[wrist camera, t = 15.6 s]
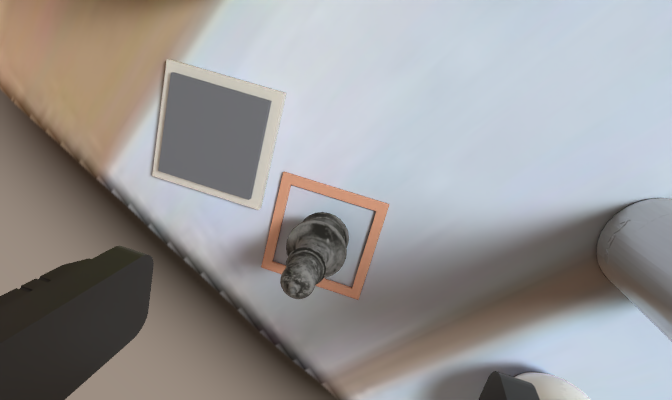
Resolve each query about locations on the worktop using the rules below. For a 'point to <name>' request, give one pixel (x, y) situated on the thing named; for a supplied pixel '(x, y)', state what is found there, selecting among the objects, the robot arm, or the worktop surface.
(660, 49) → the worktop surface
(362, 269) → the marked box
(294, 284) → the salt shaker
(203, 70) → the ink pad
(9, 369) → the robot arm
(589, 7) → the worktop surface
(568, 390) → the lidded jar
